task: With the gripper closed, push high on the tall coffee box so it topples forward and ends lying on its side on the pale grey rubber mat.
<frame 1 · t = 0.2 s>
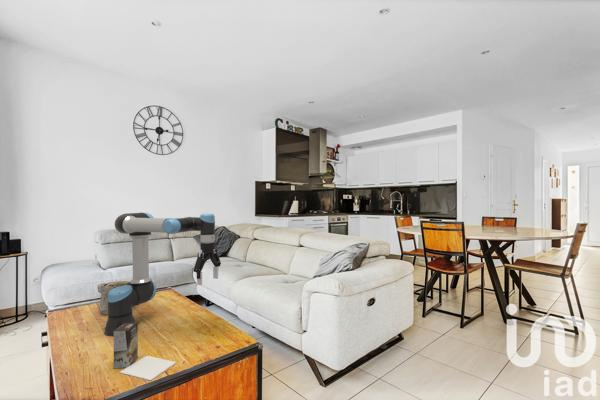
hand: (208, 281, 163), 28 cm above the table, tool pointing down, fingers open, 13 cm apart
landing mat: (148, 367, 129), on the table
coffee box: (126, 363, 133), on the table
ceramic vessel: (119, 310, 198), on the table
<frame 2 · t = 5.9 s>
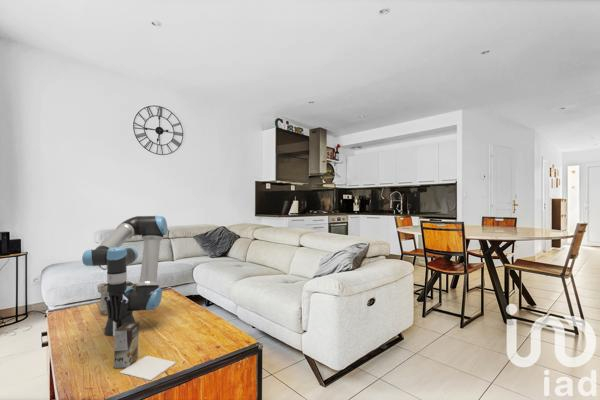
hand: (116, 334, 135), 12 cm above the table, tool pointing down, fingers closed
coffee box: (126, 362, 133), on the table, touching gripper, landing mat
everything else where it was.
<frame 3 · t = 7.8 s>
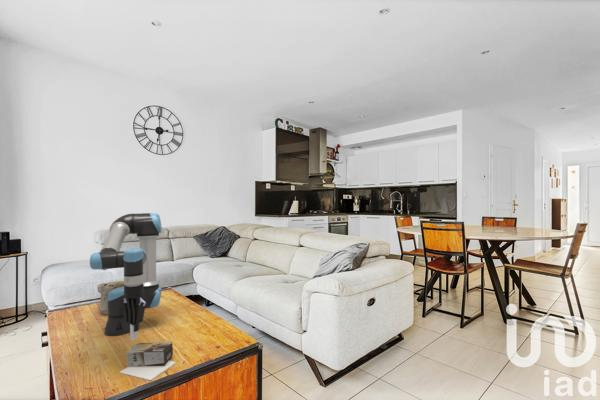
hand: (134, 338, 132), 12 cm above the table, tool pointing down, fingers closed
coffee box: (132, 354, 134), point 4 cm above the table, touching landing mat
everything else where it was.
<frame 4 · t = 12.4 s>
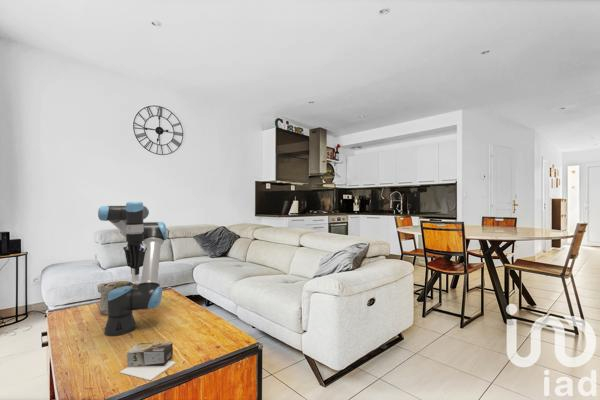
hand: (135, 281, 148), 32 cm above the table, tool pointing down, fingers closed
nothing on the table moved.
at the end: coffee box tilted 90°; coffee box touching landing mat; the gripper is holding nothing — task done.
